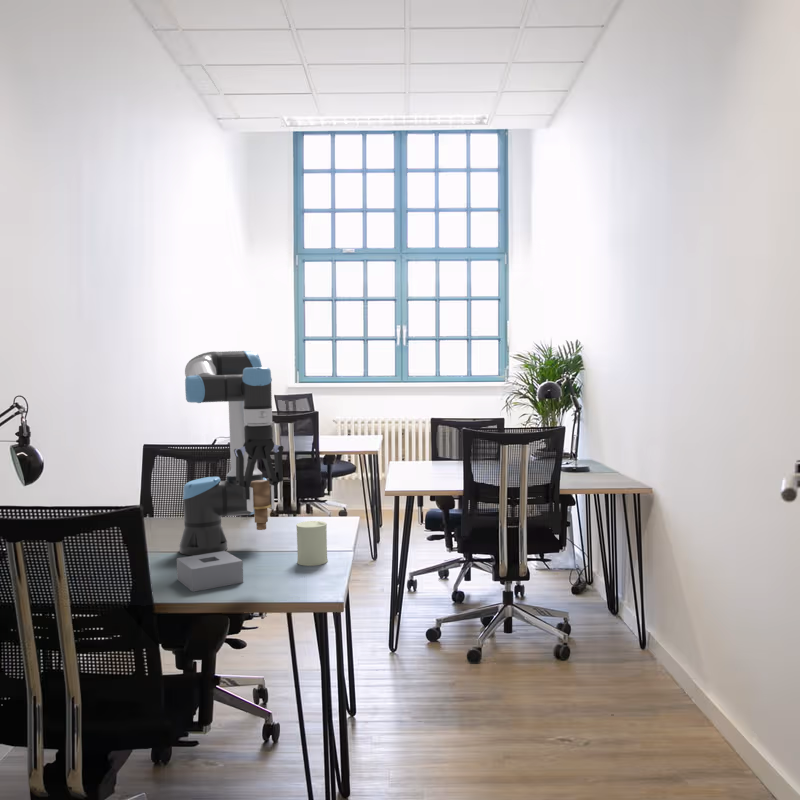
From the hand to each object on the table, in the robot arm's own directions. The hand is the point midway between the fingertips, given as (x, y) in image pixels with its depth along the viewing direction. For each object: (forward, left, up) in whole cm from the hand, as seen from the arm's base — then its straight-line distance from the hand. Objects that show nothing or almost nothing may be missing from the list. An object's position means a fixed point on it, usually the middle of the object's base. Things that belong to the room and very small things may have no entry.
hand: (260, 509), depth 199 cm
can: (-21, -12, -21) cm, 32 cm away
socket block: (+11, -11, -20) cm, 26 cm away
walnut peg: (0, 0, -5) cm, 5 cm away
